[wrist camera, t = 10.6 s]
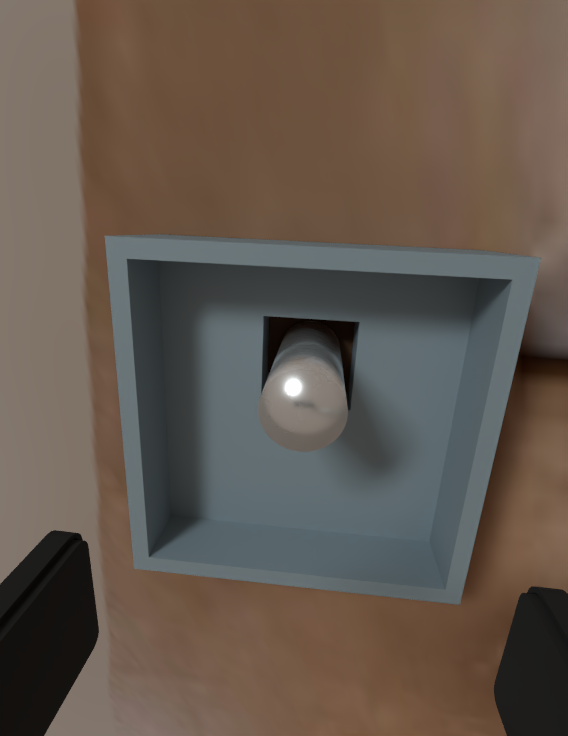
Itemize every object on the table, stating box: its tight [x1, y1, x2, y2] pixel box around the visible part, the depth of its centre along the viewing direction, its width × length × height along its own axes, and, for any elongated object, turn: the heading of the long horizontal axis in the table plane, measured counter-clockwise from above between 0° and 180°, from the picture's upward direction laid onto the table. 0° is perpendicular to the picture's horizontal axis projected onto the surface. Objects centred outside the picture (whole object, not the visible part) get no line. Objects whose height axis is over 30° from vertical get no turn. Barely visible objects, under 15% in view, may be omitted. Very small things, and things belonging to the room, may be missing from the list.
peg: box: [258, 321, 348, 452], centre depth 23 cm, size 4×4×10 cm
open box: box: [105, 235, 541, 605], centre depth 26 cm, size 20×20×7 cm
